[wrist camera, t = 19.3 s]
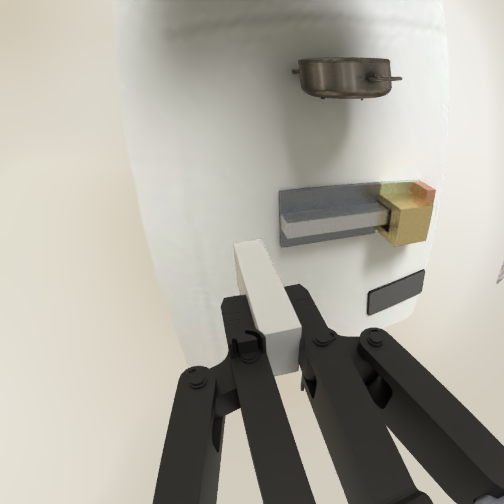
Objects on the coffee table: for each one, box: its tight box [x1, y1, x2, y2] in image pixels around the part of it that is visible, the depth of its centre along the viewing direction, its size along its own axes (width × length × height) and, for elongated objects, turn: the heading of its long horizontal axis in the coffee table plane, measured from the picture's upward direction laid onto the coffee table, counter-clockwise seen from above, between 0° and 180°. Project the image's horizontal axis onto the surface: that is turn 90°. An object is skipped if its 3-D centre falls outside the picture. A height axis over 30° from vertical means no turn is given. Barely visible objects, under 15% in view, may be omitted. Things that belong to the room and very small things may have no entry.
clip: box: [376, 192, 433, 247], centre depth 45 cm, size 7×6×6 cm
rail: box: [279, 180, 436, 248], centre depth 45 cm, size 26×9×5 cm, turn 94°
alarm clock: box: [291, 57, 402, 100], centre depth 29 cm, size 11×5×16 cm, turn 100°
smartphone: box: [367, 269, 425, 315], centre depth 60 cm, size 7×1×15 cm
